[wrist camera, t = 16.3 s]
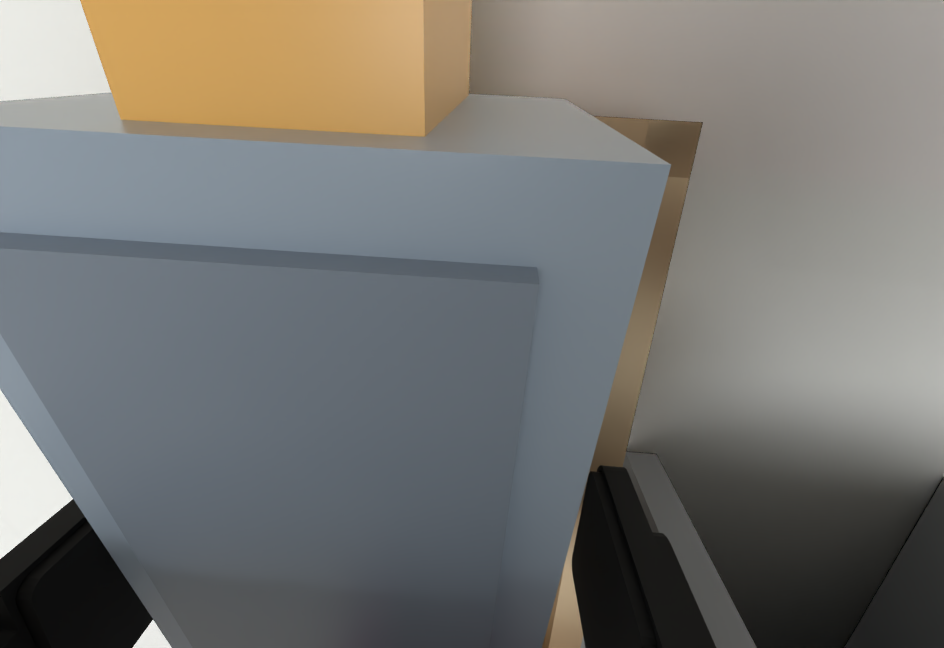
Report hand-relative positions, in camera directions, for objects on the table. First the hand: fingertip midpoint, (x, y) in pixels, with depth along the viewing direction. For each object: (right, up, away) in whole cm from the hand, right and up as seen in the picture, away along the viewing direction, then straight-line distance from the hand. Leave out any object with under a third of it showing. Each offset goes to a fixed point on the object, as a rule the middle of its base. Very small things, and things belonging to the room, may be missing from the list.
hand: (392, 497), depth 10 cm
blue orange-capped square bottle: (0, +5, 0) cm, 5 cm away
